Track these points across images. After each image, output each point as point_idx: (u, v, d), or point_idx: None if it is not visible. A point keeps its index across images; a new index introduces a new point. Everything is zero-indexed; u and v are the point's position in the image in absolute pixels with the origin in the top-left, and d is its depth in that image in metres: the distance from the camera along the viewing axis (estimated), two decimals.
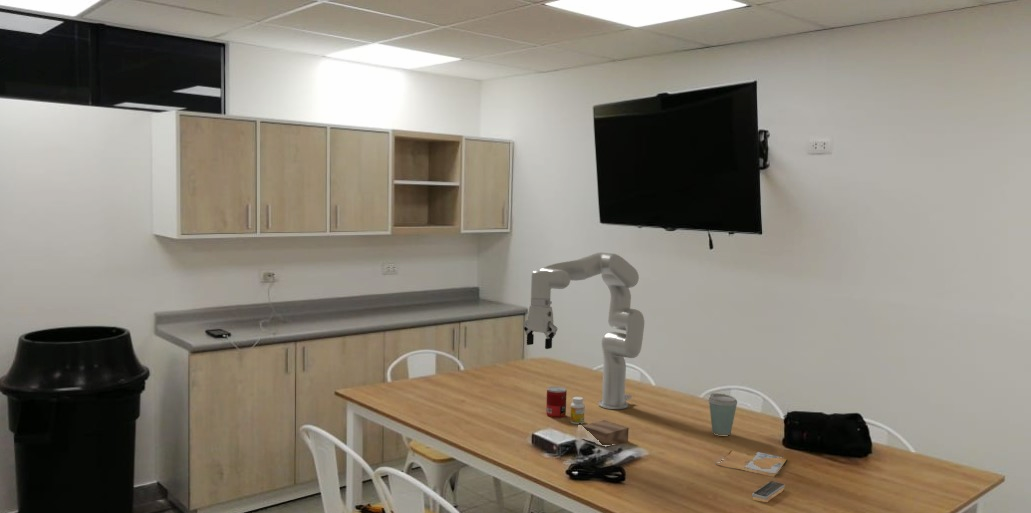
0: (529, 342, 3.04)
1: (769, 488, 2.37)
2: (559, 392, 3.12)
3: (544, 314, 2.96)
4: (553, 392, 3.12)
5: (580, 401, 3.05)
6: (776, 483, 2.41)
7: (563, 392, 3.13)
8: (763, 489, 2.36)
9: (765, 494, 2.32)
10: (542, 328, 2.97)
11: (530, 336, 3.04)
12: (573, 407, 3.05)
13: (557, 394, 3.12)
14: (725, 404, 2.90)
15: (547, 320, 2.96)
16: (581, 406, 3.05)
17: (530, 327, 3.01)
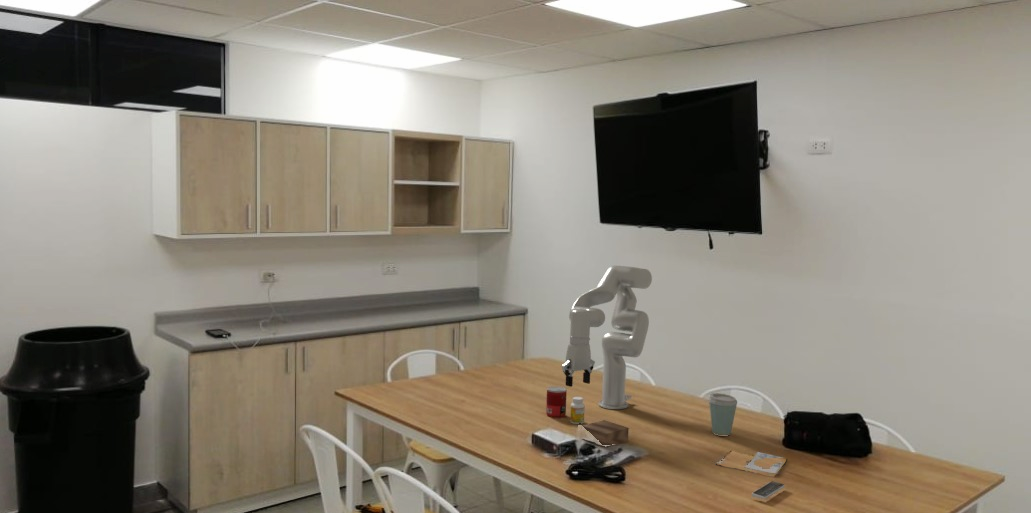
0: None
1: (769, 488, 2.37)
2: (559, 392, 3.12)
3: None
4: (553, 392, 3.12)
5: (580, 401, 3.05)
6: (777, 483, 2.41)
7: (563, 392, 3.13)
8: (763, 489, 2.36)
9: (765, 494, 2.32)
10: (588, 364, 3.06)
11: None
12: (573, 407, 3.05)
13: (557, 394, 3.12)
14: (725, 404, 2.90)
15: None
16: (581, 406, 3.05)
17: (577, 367, 3.02)
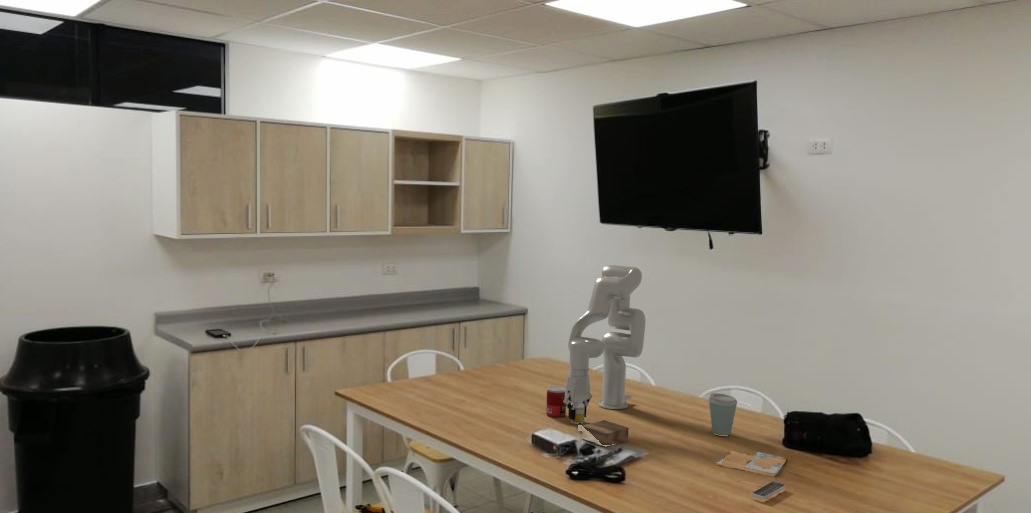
0: None
1: (769, 488, 2.37)
2: (559, 392, 3.12)
3: (589, 381, 3.08)
4: (553, 392, 3.12)
5: (580, 401, 3.05)
6: (777, 483, 2.41)
7: (563, 392, 3.13)
8: (763, 489, 2.36)
9: (764, 494, 2.32)
10: (587, 395, 3.07)
11: None
12: None
13: (557, 394, 3.12)
14: (725, 404, 2.90)
15: None
16: (581, 406, 3.05)
17: (576, 398, 3.03)
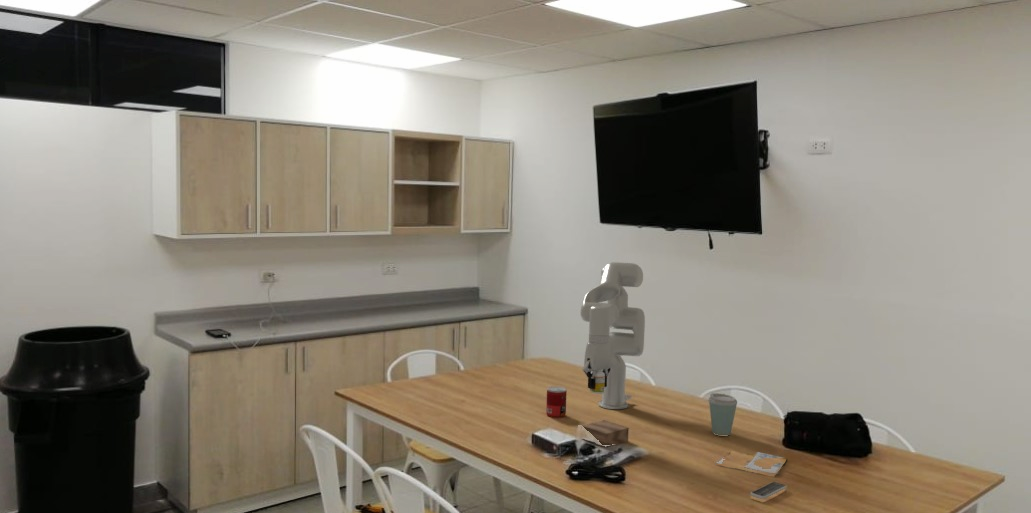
0: None
1: (769, 488, 2.37)
2: (559, 392, 3.12)
3: (610, 349, 2.91)
4: (553, 392, 3.12)
5: None
6: (778, 484, 2.41)
7: (563, 392, 3.13)
8: (763, 489, 2.36)
9: (763, 494, 2.32)
10: (608, 364, 2.91)
11: None
12: None
13: (557, 394, 3.12)
14: (725, 404, 2.90)
15: None
16: (601, 375, 2.88)
17: (596, 366, 2.87)
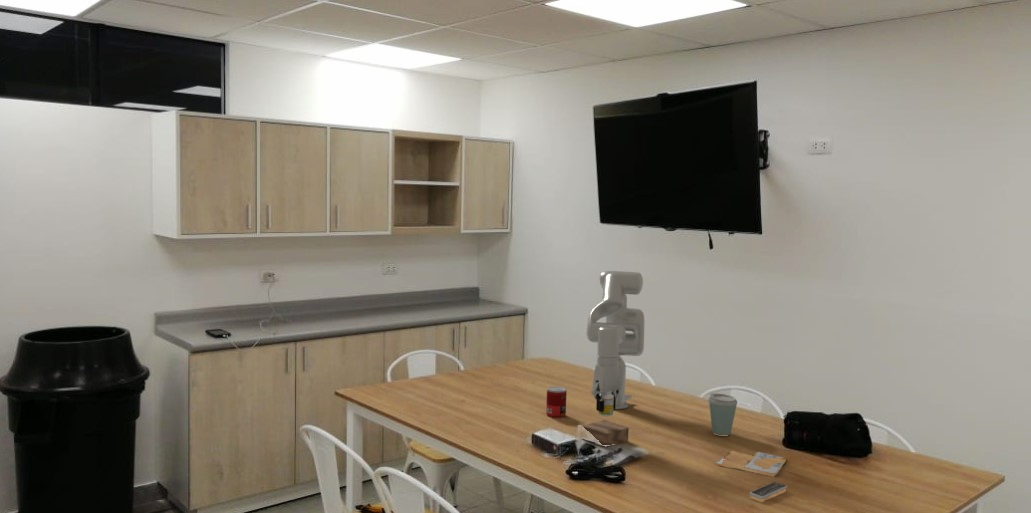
0: None
1: (769, 488, 2.37)
2: (559, 392, 3.12)
3: (618, 370, 2.85)
4: (553, 392, 3.12)
5: None
6: (778, 484, 2.41)
7: (563, 392, 3.13)
8: (762, 489, 2.36)
9: (762, 494, 2.32)
10: (617, 385, 2.85)
11: None
12: None
13: (557, 394, 3.12)
14: (725, 404, 2.90)
15: None
16: (610, 397, 2.82)
17: (605, 389, 2.81)
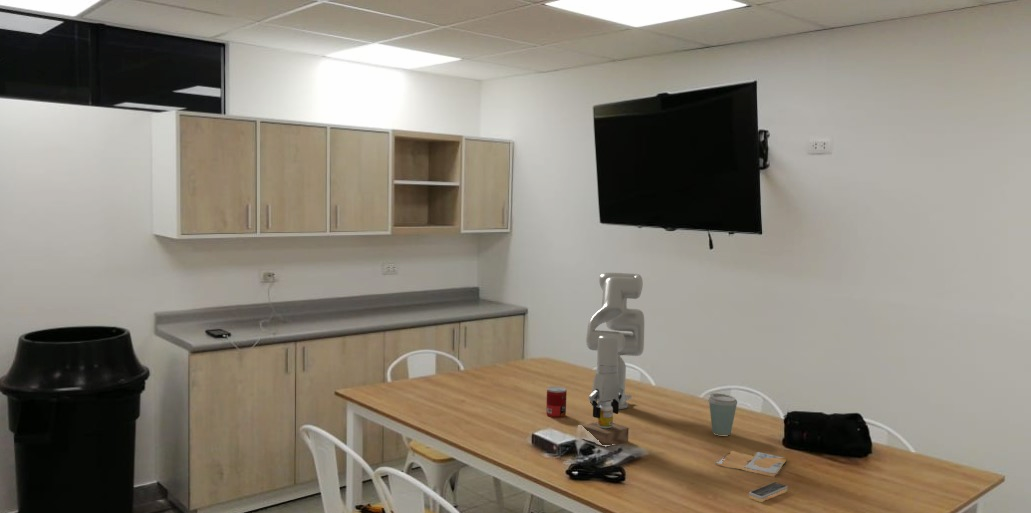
0: None
1: (769, 488, 2.37)
2: (559, 392, 3.12)
3: (618, 379, 2.85)
4: (553, 392, 3.12)
5: (608, 403, 2.83)
6: (779, 484, 2.40)
7: (563, 392, 3.13)
8: (762, 489, 2.36)
9: (762, 494, 2.32)
10: (617, 394, 2.85)
11: None
12: None
13: (557, 394, 3.12)
14: (725, 404, 2.90)
15: None
16: (609, 409, 2.83)
17: (605, 397, 2.81)
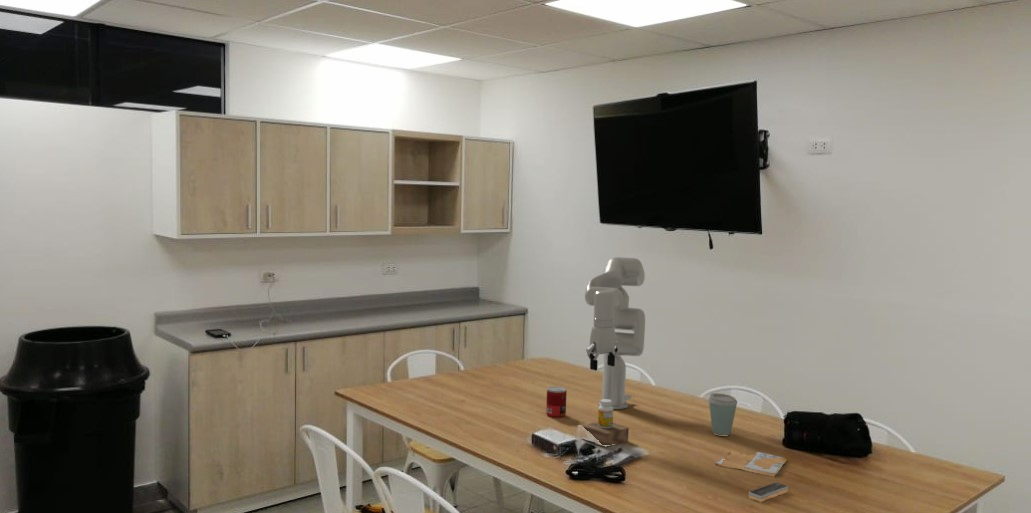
0: None
1: (769, 488, 2.37)
2: (559, 392, 3.12)
3: (614, 333, 2.96)
4: (553, 392, 3.12)
5: (608, 404, 2.83)
6: (779, 484, 2.40)
7: (563, 392, 3.13)
8: (762, 489, 2.36)
9: (761, 494, 2.32)
10: (613, 347, 2.96)
11: None
12: (601, 410, 2.83)
13: (557, 394, 3.12)
14: (725, 404, 2.90)
15: None
16: (609, 409, 2.83)
17: (602, 350, 2.92)
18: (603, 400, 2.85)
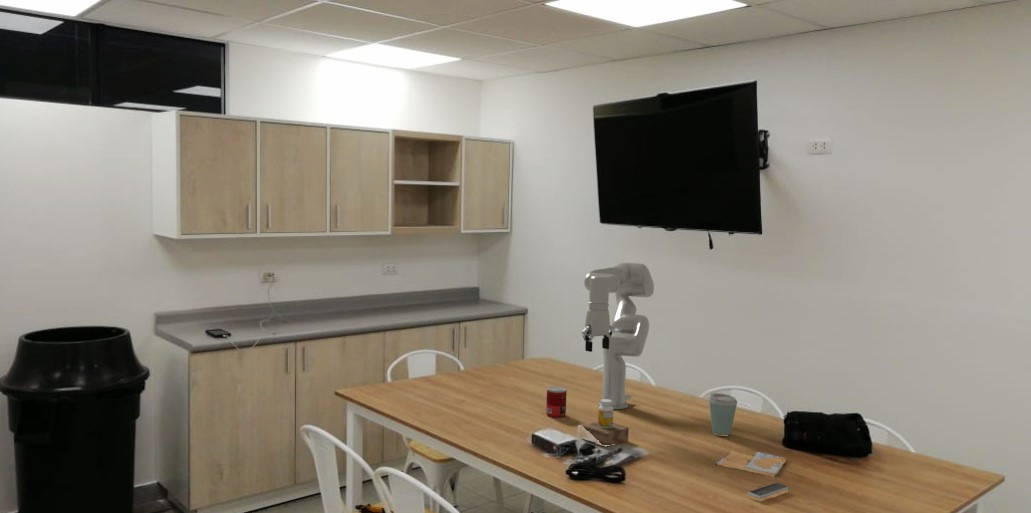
0: None
1: (769, 489, 2.37)
2: (559, 392, 3.12)
3: None
4: (553, 392, 3.12)
5: (609, 404, 2.83)
6: (780, 485, 2.40)
7: (563, 392, 3.13)
8: (762, 489, 2.36)
9: (760, 494, 2.32)
10: (607, 330, 3.09)
11: None
12: (601, 410, 2.83)
13: (557, 394, 3.12)
14: (725, 404, 2.90)
15: None
16: (610, 409, 2.83)
17: (597, 332, 3.05)
18: (603, 400, 2.85)
